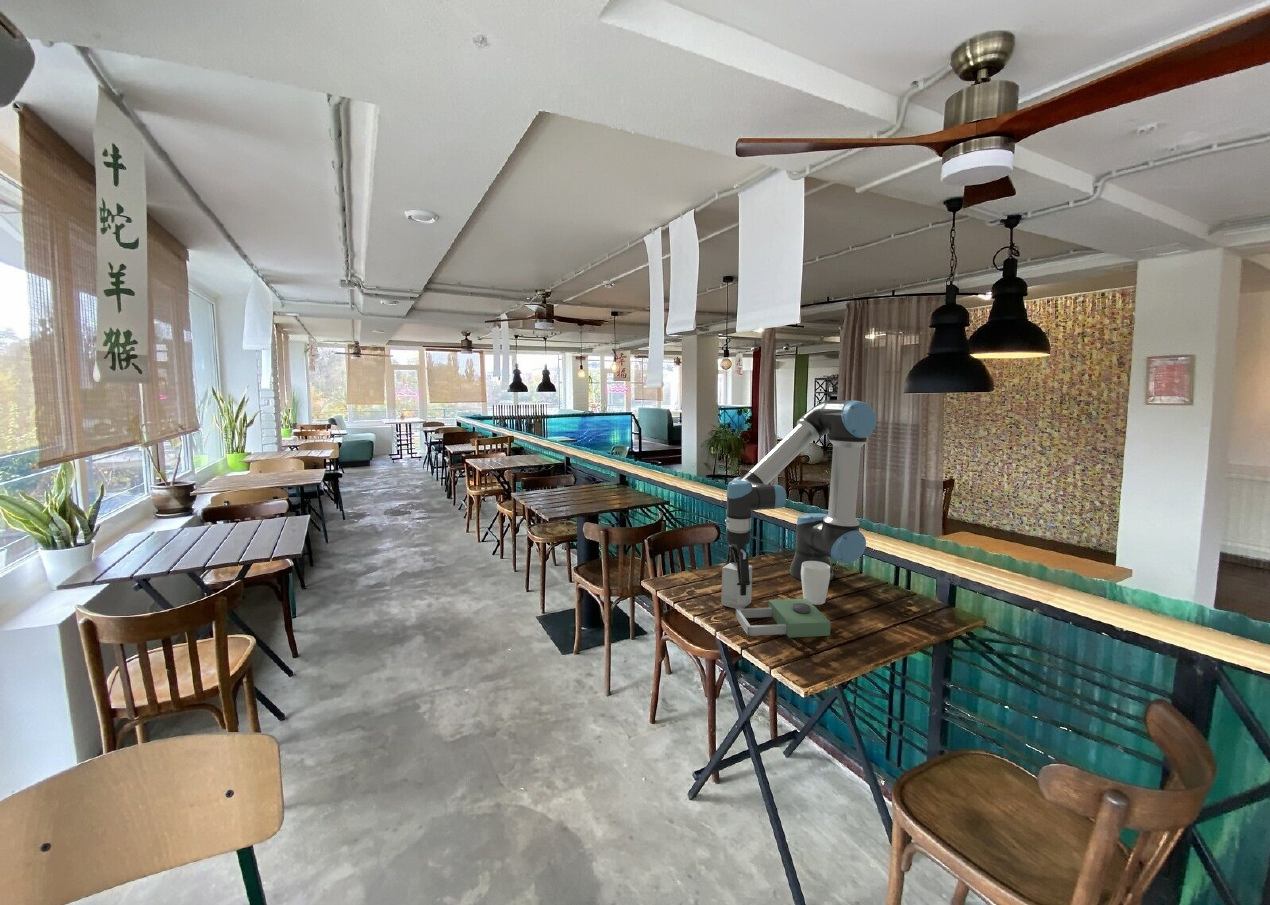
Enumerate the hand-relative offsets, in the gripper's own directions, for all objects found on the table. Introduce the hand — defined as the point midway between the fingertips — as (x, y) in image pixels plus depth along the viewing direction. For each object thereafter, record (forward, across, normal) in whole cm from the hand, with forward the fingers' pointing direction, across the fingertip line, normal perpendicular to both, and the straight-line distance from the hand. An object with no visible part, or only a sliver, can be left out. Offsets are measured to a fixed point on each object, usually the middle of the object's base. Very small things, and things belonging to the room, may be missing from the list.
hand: (736, 596), depth 163 cm
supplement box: (+3, 0, 0) cm, 3 cm away
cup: (+3, 0, +26) cm, 26 cm away
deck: (+2, +15, +9) cm, 17 cm away
